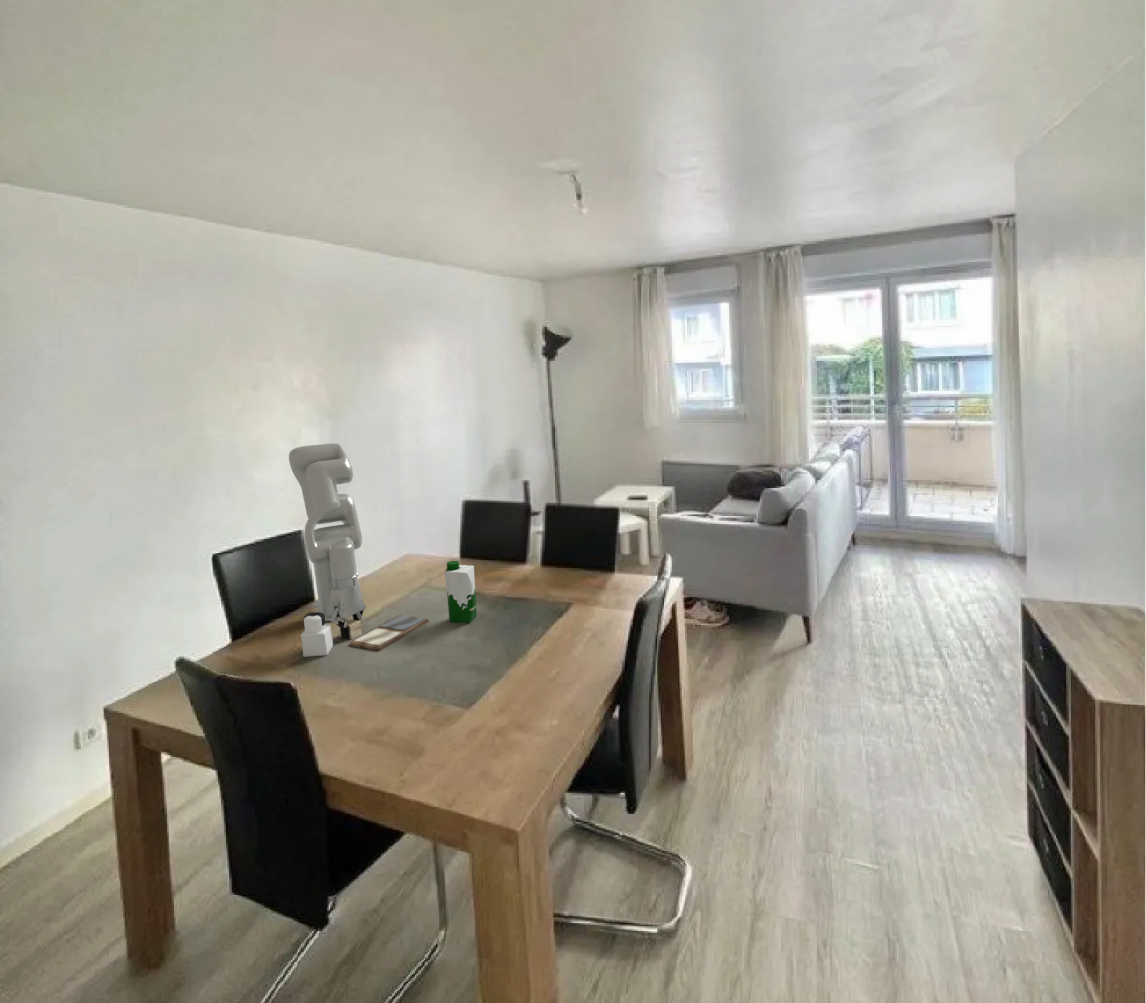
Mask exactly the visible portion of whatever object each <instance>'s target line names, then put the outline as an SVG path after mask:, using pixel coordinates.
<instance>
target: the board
mask: <svg viewBox="0 0 1146 1003" xmlns="http://www.w3.org/2000/svg"><path fill="white" fill-rule="evenodd" d="M428 623H429V619H428V618H424V617H417V616H411V615H405V614H398V615H397V616H395V617H393V618H391V619H390V620H388V621H385V622H384V623H381V624H380V625H378V626H376V627H374V628H373V629H371V630H369V631H368V632H366V633H364V634H361V635H359V636H357V637H355V638H353V639H352V640H351V641H349V645H350V646H353V647H358V648H362V649H363V648H364V649H368V650H375V651H379V652H381V651H382V650H384V649H385V648H387V647H389V646H391V644H394V643H396V642H397V641H399V640H401V639H402V638H405V637H406V636H407V635H409V634H411V633H413V632H414V631H415V630H416V631H417V629H419V628H421V627H422V626H425V625H426V624H428Z"/></svg>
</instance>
